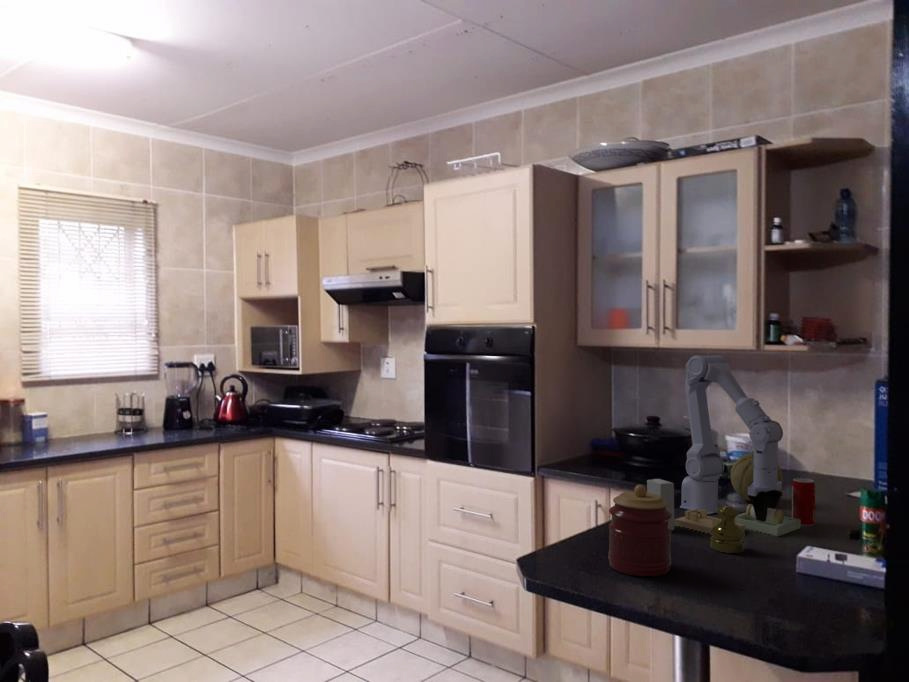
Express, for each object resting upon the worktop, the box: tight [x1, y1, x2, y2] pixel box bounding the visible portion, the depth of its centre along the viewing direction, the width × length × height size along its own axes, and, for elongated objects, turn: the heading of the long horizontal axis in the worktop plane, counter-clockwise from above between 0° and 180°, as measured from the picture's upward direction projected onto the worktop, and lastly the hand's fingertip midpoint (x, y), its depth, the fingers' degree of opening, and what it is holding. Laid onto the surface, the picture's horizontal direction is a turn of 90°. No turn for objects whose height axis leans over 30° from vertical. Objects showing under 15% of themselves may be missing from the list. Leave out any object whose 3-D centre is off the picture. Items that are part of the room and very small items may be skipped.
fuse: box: [745, 503, 785, 524], centre depth 181 cm, size 8×4×4 cm, turn 40°
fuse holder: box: [674, 508, 746, 535], centre depth 179 cm, size 14×10×4 cm
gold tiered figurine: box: [709, 505, 745, 554], centre depth 161 cm, size 7×7×10 cm
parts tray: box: [735, 512, 801, 537], centre depth 181 cm, size 13×13×2 cm
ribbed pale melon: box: [730, 452, 784, 502], centre depth 208 cm, size 15×15×15 cm
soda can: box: [791, 477, 816, 527], centre depth 184 cm, size 6×6×12 cm
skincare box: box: [646, 478, 675, 531], centre depth 178 cm, size 6×4×12 cm
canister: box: [607, 484, 673, 577], centre depth 148 cm, size 13×13×18 cm
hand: (764, 519), depth 181 cm, fingers closed on fuse, 3 cm apart
